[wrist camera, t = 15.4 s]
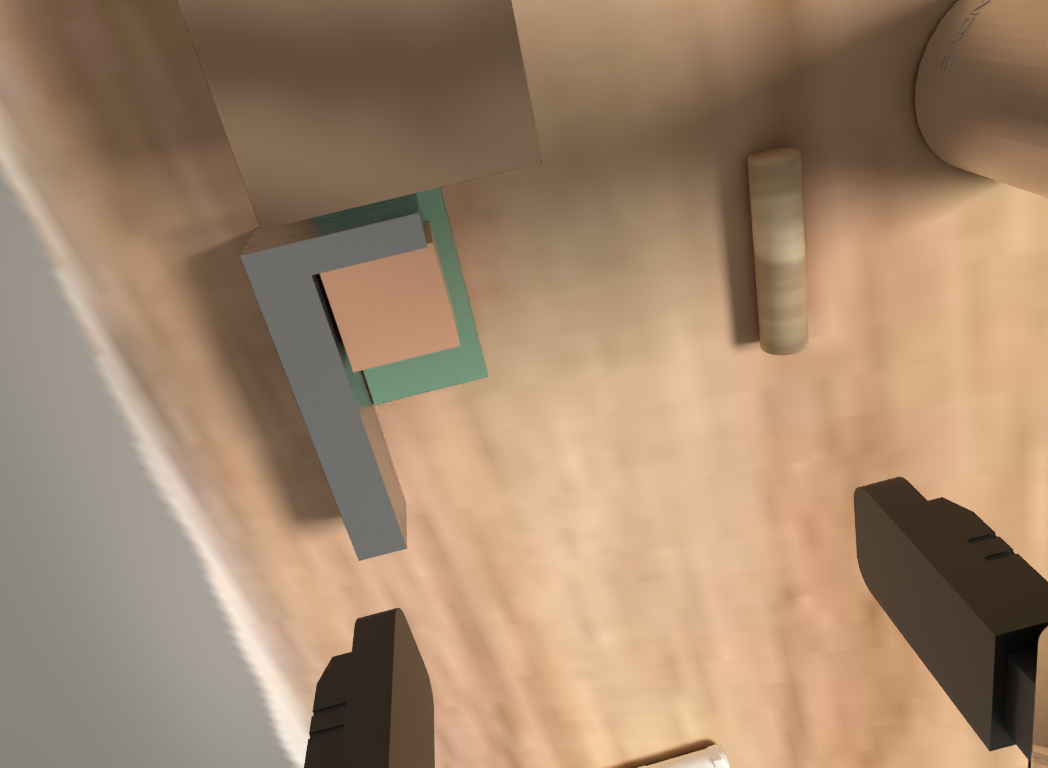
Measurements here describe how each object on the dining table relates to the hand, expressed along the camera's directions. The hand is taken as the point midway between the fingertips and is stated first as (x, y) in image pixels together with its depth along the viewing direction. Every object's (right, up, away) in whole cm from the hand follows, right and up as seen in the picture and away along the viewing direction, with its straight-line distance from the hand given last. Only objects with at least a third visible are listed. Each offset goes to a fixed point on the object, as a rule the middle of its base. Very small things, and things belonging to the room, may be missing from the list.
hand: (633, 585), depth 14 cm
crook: (-9, +4, +26) cm, 28 cm away
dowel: (+11, +9, +25) cm, 29 cm away
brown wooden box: (-8, +18, +20) cm, 28 cm away
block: (-8, +8, +25) cm, 27 cm away
